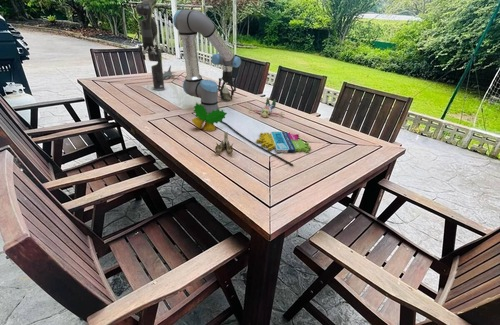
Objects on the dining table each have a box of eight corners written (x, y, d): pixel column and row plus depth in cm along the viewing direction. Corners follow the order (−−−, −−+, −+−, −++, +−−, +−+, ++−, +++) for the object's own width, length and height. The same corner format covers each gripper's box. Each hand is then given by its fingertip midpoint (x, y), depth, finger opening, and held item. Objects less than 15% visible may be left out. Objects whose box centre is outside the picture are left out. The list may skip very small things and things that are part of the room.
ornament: (218, 133, 171) (224, 110, 169) (221, 134, 163) (227, 111, 161) (186, 125, 162) (192, 101, 160) (189, 126, 155) (195, 101, 153)
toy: (288, 100, 208) (284, 110, 182) (287, 109, 211) (283, 120, 186) (254, 96, 213) (245, 105, 187) (254, 104, 216) (245, 115, 190)
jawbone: (234, 135, 144) (233, 125, 135) (233, 160, 138) (232, 151, 129) (217, 135, 144) (216, 125, 135) (216, 160, 138) (214, 150, 129)
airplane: (146, 75, 285) (145, 65, 280) (175, 73, 298) (174, 64, 293) (152, 84, 257) (151, 73, 252) (184, 82, 270) (183, 72, 265)
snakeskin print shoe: (221, 100, 216) (222, 89, 211) (218, 93, 237) (218, 82, 232) (231, 101, 218) (232, 89, 213) (227, 93, 239) (227, 82, 234)
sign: (313, 150, 142) (258, 149, 139) (312, 153, 143) (258, 152, 140) (301, 132, 164) (254, 130, 161) (301, 134, 165) (254, 133, 162)
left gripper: (153, 35, 198) (156, 58, 206) (135, 35, 189) (138, 59, 196) (158, 36, 193) (161, 60, 201) (140, 36, 184) (143, 61, 192)
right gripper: (238, 70, 214) (237, 98, 225) (214, 69, 209) (214, 98, 220) (240, 72, 207) (239, 100, 218) (215, 71, 203) (215, 100, 214)
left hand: (149, 59), depth 199 cm, fingers open, 8 cm apart
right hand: (226, 99), depth 219 cm, fingers closed on snakeskin print shoe, 7 cm apart
